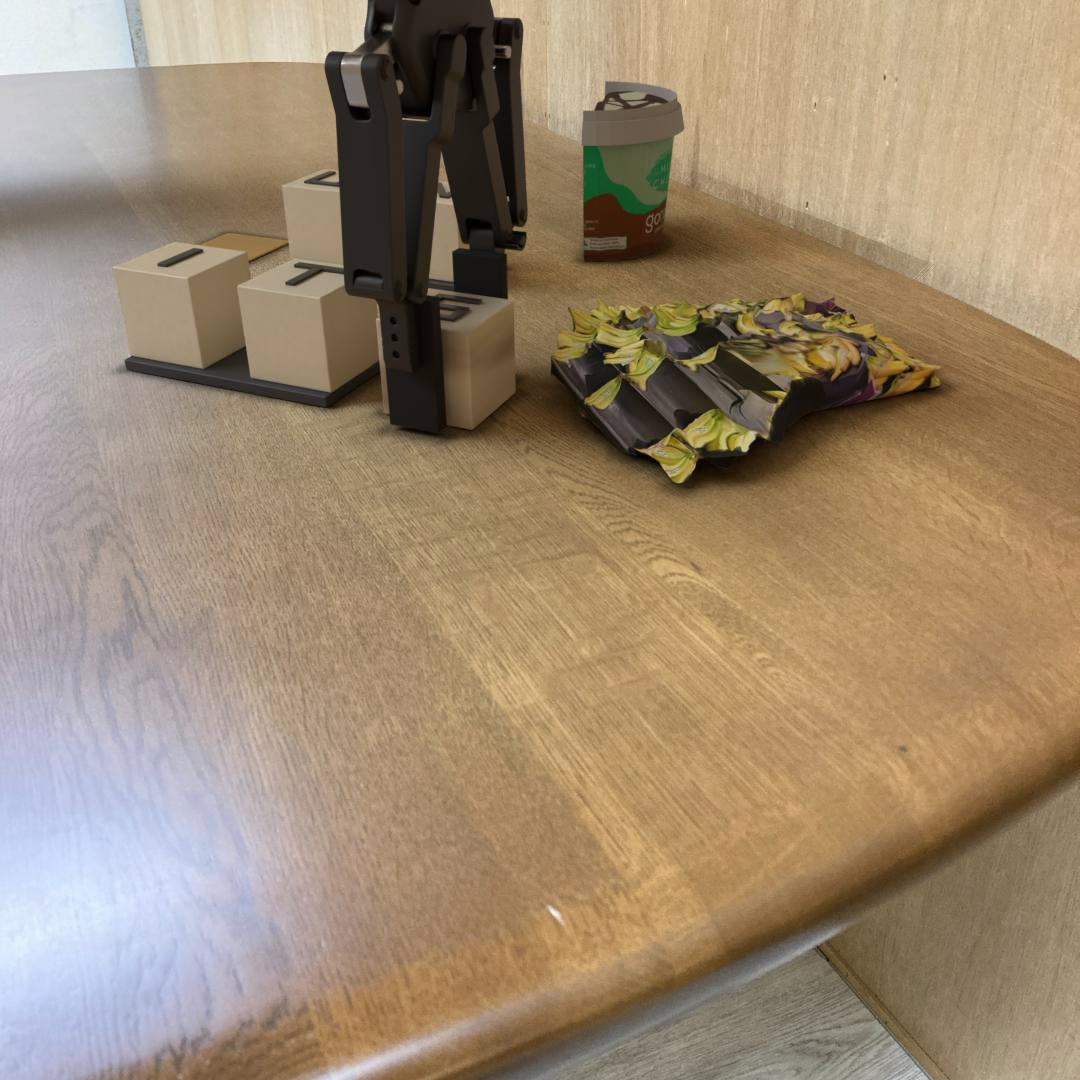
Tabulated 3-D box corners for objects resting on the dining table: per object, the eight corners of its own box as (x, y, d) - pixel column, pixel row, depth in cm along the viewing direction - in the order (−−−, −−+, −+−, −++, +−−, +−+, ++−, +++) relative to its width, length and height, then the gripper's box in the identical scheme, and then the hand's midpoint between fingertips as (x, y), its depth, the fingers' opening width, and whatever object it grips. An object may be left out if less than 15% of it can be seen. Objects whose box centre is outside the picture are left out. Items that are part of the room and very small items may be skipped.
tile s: (383, 414, 57) (374, 315, 54) (431, 378, 61) (425, 284, 58) (472, 430, 55) (468, 329, 53) (516, 392, 59) (514, 296, 56)
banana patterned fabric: (816, 327, 69) (861, 230, 65) (973, 508, 59) (1039, 406, 54) (512, 324, 61) (541, 213, 57) (631, 533, 51) (677, 416, 46)
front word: (125, 369, 62) (104, 266, 59) (196, 333, 67) (179, 236, 64) (327, 408, 58) (314, 298, 55) (387, 366, 62) (379, 262, 59)
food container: (671, 271, 76) (679, 114, 71) (580, 267, 77) (581, 112, 72) (684, 221, 87) (691, 81, 81) (603, 218, 87) (606, 79, 82)
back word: (177, 255, 80) (162, 171, 77) (230, 233, 85) (218, 153, 82) (457, 295, 72) (453, 203, 69) (498, 268, 77) (496, 181, 74)
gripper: (380, -125, 37) (424, 496, 49) (598, -132, 52) (592, 344, 64) (195, -124, 40) (279, 465, 52) (454, -130, 55) (473, 326, 67)
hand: (452, 397), depth 58 cm, fingers open, 6 cm apart
